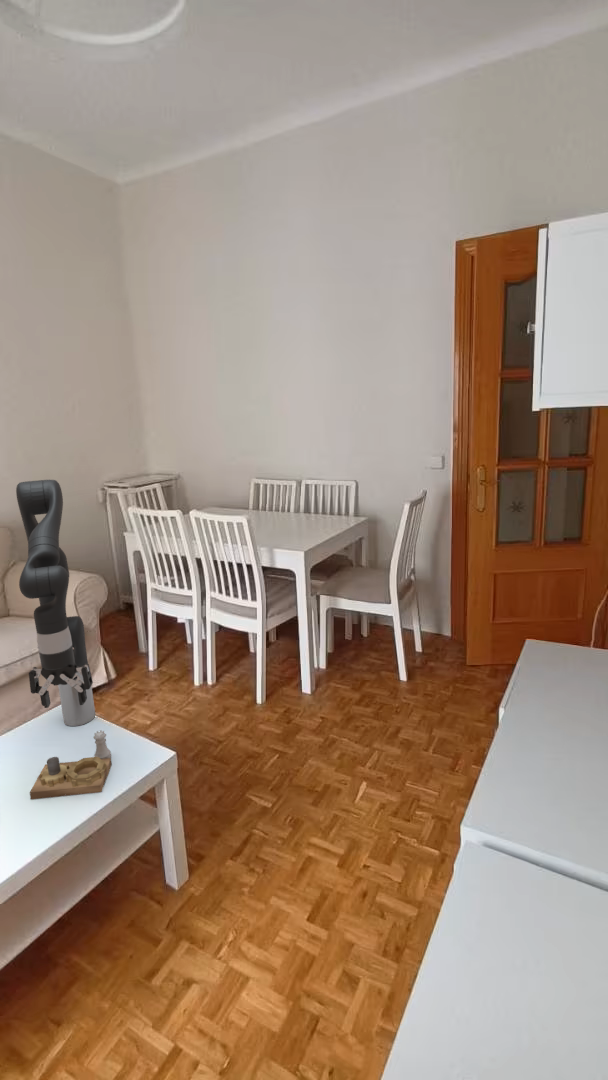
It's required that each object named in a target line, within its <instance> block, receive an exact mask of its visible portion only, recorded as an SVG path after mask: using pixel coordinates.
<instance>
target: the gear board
mask: <svg viewBox="0 0 608 1080" xmlns="http://www.w3.org/2000/svg"><path fill="white" fill-rule="evenodd" d="M112 765H113V764H112V758H106V759H100V757H94V756H92V757H91V756H90V757H83V758H81V759H79V760H76V761H67V762H66V761H65V762H60V759H59V756H52V757H49V758H48V759H47V760H46V763H45V764H44V766H43V768H42V770H41V771H40V772H39V775H38V776H37V779H36V780H35V782H34V784H33V786H32V787H31V790H30V791H29V797H30V800H36V799H38V800H39V799H46V798H47V799H49V798H58V797H67V796H69V797H70V796H74V795H75V796H77V795H78V796H79V795H86V794H95V793H96V794H97V793H102V791H103V788H104V786H105V783H106V780H107V779H108V776H109V774H110V770H111V767H112Z"/></svg>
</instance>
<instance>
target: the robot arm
mask: <svg viewBox="0 0 608 1080" xmlns="http://www.w3.org/2000/svg"><path fill="white" fill-rule="evenodd" d="M15 489H16V490H15V492H16V494H15V495H16V500H17V506H18V510H19V513H20V515H21V521H22V524H23V527H24V532H25V535H26V539H27V560H26V562H25V565H24V567H23V569H22V571H21V574H20V577H19V581H18V583H19V584H18V586H19V591H20V593H21V594H22V596H24V597H25V598H27V599H30V600H31V599H32V600H33V599H38V601H39V606H37V607H36V608H35V609H34V611H33V619H34V624H35V629H36V643H37V644H36V646H37V649H38V650H37V651H38V655H39V661H40V665H41V668H38V667H36V666H33V667H32V668H31V670H30V671H29V672H28V678H29V679H28V681H29V687H30V688H29V689H30V693H31V694H33V695H34V694H38V695H39V697H40V703H41V705H42V707H44V709H48V708H49V707H50V705H51V697H50V691H49V690H48V689H49V687H50V685H53V686H57V687H58V693H59V698H60V699H59V700H60V705H61V712H62V718H63V723H64V724H65V725H66V726H69V727H77V726H82V725H85V724H88V723H89V722H91V721H92V720H93V719H94V718H95V717H96V708H95V702H94V695H93V694H94V693H93V688H92V686H93V683H94V682H93V677H92V673H91V669H90V664H89V661H88V655H87V654H88V653H87V646H86V636H85V634H86V633H85V625H84V622H83V619H82V617H80V615H79V616H78V615H73V616H67V611H66V610H67V608H66V607H67V605H66V603H67V595H68V590H69V585H70V584H69V583H70V570H69V566H68V558H67V556H66V553H65V551H64V550H63V549H62V548H61V546H60V542H59V541H60V530H61V529H60V528H61V524H62V516H63V508H64V501H63V500H64V499H63V491H62V488H61V485H60V483H59V482H58V480H56V479H40V480H29V481H28V480H27V481H21V482H19V483H18V484H17V485H16V488H15ZM39 515H44V517H43V518H42V519H41V520H40V522H38V519H37V517H36V516H39ZM40 676H42V677H43V678H44V679H45V681H44V683H43V685H42V686H41V685H40V679H39V677H40Z"/></svg>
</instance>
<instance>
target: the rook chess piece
mask: <svg viewBox="0 0 608 1080" xmlns="http://www.w3.org/2000/svg"><path fill="white" fill-rule="evenodd" d="M106 736H107V733H105V730H102V729H101V730H97V731H96V732H94V735H93V740H95V741H94V743H95V747H96V748H95V751H94V755H93V757H100V759H106V758H111V757H112V753H111V750H110V749H109V748H108V747H107V743H106V741H107V739H106ZM111 759H112V758H111Z"/></svg>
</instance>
